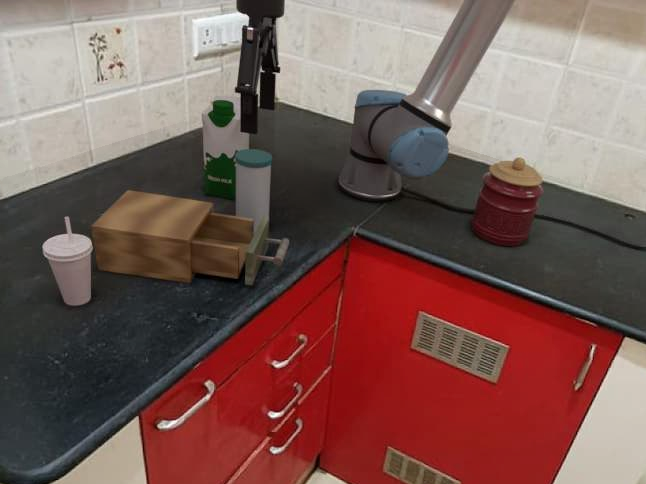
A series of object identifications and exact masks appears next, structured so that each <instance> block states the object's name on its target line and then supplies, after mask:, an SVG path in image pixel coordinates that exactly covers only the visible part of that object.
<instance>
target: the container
mask: <svg viewBox="0 0 646 484" xmlns="http://www.w3.org/2000/svg"><path fill="white" fill-rule="evenodd" d="M235 161H236V200H235V216H238V217H245V218H251V219H254V230H253V236H254V234H255V232H256V230H257V228H258V226H259V224H260V221H261V219H262V217H268V218H269V219H270V200H271V199H270V198H271V176H272V163H273V155H272V154H271V153H270V152H268V151H265V150H261V149H256V148H249V149H244V150H240V151H238V152H237V153H236V154H235Z"/></svg>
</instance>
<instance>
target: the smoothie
mask: <svg viewBox="0 0 646 484" xmlns="http://www.w3.org/2000/svg"><path fill="white" fill-rule="evenodd" d="M64 223H65V228H66V233H62V234H58V235H55V236H52V237H50V238H48V239H47V240H45V241H44V242H43V244H42V255H43V256H44V257H45V258H46V259H47V261H48V263H49V266H50V268H51V271H52V274H53V276H54V279H55V281H56V284H57V286H58V289H59V291H60V294H61V297H62V299H63V302H64V303H65V304H66V305H68V306H72V307H73V306H74V307H75V306H82V305H85V304H87V303H88V302H90V300H91V299H92V257H91V256H92V254H91V253H92V251H93V249H94V247H93V246H94V245H93V243H92V239H91V238H89V237H88V236H86V235H84V234H80V233H73V232H72V226H71V222H70V216H64Z"/></svg>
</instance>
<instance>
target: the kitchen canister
mask: <svg viewBox="0 0 646 484" xmlns="http://www.w3.org/2000/svg"><path fill="white" fill-rule="evenodd" d="M488 170H489V172H485V173H484V175H483V176H482V182H483V184H482V187H481V188H480V189H479V191H478V197H477V200H476V204H475V207H474V209H475V212H474V213H472V216H471V225H470V227H471V230H472V231H473V233H474V234H475V235H476V236H477V237H479V238H481V239H483V240H484V241H487V242H489V243H492V244H495V245H499V246H506V247H514V246H520V245H521V244H523V243H525V242H526V240H527V239H528V237H529V235H530V232H531V227H532V223H533V221H534V218H535V217H534V215H535V213H536V212H537V210H538V208H539V198H540V197H541V196H543V194H544V188H543V187H542V185H541V184H543V177H542V176H541V174H540V173H538V170H537V169H536V168H534V167H532V166H531V165H529V164H526V160H525V159H524V158H523V157H516V158H514V160H502V161H499V162H497V163H493V164H491V165H489V168H488ZM521 241H522V242H521Z"/></svg>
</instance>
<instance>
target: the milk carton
mask: <svg viewBox="0 0 646 484" xmlns="http://www.w3.org/2000/svg"><path fill="white" fill-rule="evenodd" d="M201 122H202V146H203V148H202V149H203V174H204V176H203V177H204V187H205V188H204V189H205V196H211V197H216V198H223V199H227V200H233V201H236V161H235V154H236V153H237V152H238V151H240V150H244V149H250V133H243V132H240V107H237V106H234V104H233V103H232V102H230V101H226V100H216V101H213V105H211V104H210V105H209V106H208V107H207V108H206V109H204V110H203V111H202V112H201Z"/></svg>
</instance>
